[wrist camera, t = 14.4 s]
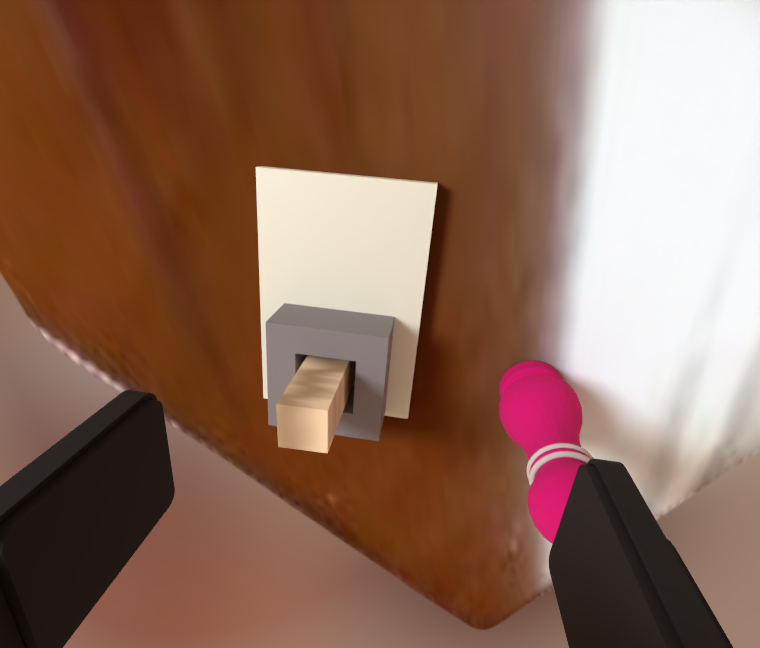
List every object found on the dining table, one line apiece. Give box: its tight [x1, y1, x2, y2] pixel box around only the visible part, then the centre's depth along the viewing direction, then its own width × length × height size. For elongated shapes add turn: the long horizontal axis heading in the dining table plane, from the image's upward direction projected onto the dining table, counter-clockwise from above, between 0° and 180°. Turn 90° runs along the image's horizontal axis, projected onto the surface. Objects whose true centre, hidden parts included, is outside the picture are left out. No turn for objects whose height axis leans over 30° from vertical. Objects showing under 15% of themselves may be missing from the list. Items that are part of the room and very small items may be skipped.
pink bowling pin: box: [499, 361, 593, 544], centre depth 35 cm, size 7×7×20 cm
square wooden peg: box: [276, 355, 356, 453], centre depth 38 cm, size 4×4×12 cm
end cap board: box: [256, 166, 438, 441], centre depth 40 cm, size 16×24×6 cm, turn 176°
